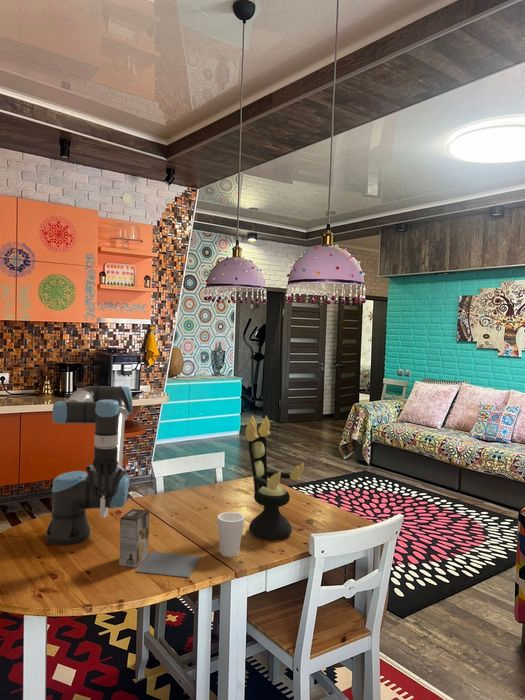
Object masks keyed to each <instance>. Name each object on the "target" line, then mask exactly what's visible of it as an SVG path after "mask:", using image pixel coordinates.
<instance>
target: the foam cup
mask: <svg viewBox="0 0 525 700" xmlns="http://www.w3.org/2000/svg"><path fill="white" fill-rule="evenodd" d="M245 519H246V518H245V516H244V515H243V514H242V513H240V512H235V511H226V512H221V513H220V514H218V515H217V519H216V520H217V521H216V523H217V529H218V540H219V552H220V555H221V554H222V555H221V556H223V557H225V556H227V557H226V558H233V557H232V556H234V557H237V556H238V555H239V553H240V546H241V542H242V541H241V540H242V535H243V530H244V529H243V528H244V525H245ZM236 555H237V556H236Z"/></svg>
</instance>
